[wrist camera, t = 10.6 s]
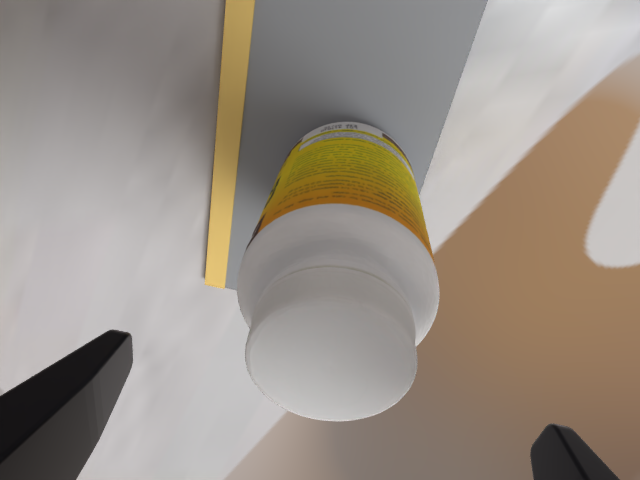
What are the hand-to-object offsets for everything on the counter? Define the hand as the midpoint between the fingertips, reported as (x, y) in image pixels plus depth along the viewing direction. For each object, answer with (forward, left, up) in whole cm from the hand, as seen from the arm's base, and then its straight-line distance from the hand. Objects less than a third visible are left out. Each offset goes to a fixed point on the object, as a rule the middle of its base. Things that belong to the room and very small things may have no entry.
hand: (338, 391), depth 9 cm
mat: (-1, +1, -11) cm, 11 cm away
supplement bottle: (0, 0, -11) cm, 11 cm away
